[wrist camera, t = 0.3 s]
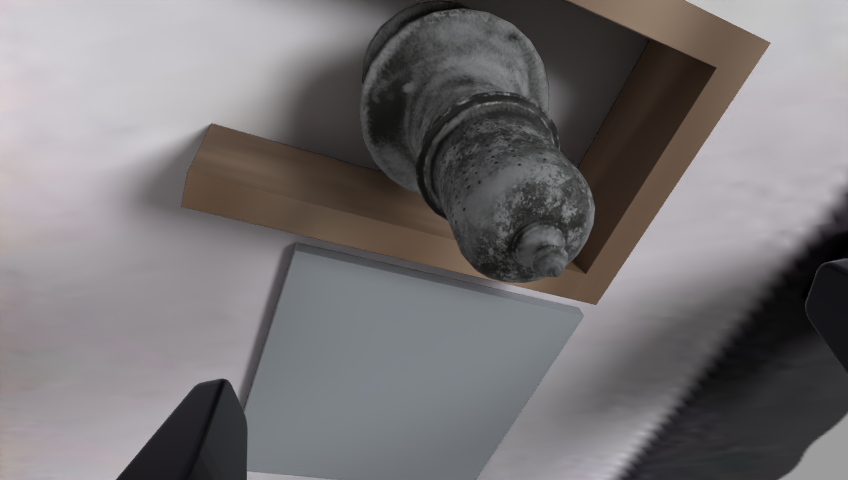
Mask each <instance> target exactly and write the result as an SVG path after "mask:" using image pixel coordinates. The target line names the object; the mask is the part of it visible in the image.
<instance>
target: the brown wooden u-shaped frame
mask: <svg viewBox="0 0 848 480" xmlns="http://www.w3.org/2000/svg"><path fill="white" fill-rule="evenodd" d="M564 1H566V2H568V3H570V4H572V5H575V6H577V7H579V8H581V9H584V10H586V11H588V12H590V13H592V14H595V15H597V16H599V17H601V18H604V19H606V20H608V21H610V22H612V23H615V24H617V25H619V26H621V27H623V28H626V29H628V30H630V31H632V32H635V33H637V34H639V35H641V36H643V37H646V38H648V39H650V41H649V42H648V44H647V46H646V48H645V50H644V51H643V53H642V55H641V57H640V58H639V60H638V62H637V64H636V66H635V67H634V69H633V71H632V73H631V74H630V76H629V78H628V80H627V82H626V83H625V85H624V87H623V89H622V90H621V92H620V94H619V96H618V98H617V99H616V101H615V103H614V105H613V107H612V108H611V110H610V112H609V114H608V115H607V117H606V119H605V121H604V123H603V124H602V126H601V128H600V130H599V131H598V133H597V135H596V137H595V139H594V140H593V142H592V144H591V146H590V147H589V149H588V151H587V153H586V155H585V156H584V158H583V160H582V162H581V164H580V165H579V167H578V170H579V171H580V173H581V174H582V176H583V177H584V179H585V180H586V182H587V184H588V185H589V188H590V190H591V193H592V197H593V201H594V206H595V214H594V223H593V226H592V229H591V231H590V234H589V237H588V239H587V241H586V243H585V245H584V246H583V248H582V249H581V250H580V252H579V253H578V255H577V256H576V257H575V258H574V259H573V260H572V261H571V262H570V263H569V264H568V265H567V266H565V268H564V270H563V271H562V273H561V275H560V276H558V277H545V278H543V279H540V280H537V281H532V282H526V283H508V282H501V281H497V280H493V279H490V278H487V277H486V276H484V275H482V274H481V273H479V272H477V271H476V270H475V269H474V268H473V267H472V265H471V264H470V263H469V262H468V261H467V260H466V259H465V258H464V256H463V255H462V254H461V252H460V249H459V247H458V245H457V242H456V240H455V237H454V235H453V232H452V230H451V227H450V224H449V222H448V221H447V220H445V219H443V218H442V217H440V216H439V215H437V214H436V213H434V211H433V210H432V209H431V208H430V207H429V206H428V205H427V203H426V202H425V201H424V199H423V197H422V195H421V194H418V193H415V192H412V191H409V190H407V189H405V188H404V187H402V186H401V185H399V184H398V183H396V182H394V181H393V180H391V179H390V178H389V177H388V176H387V175H386V174H385V173H382V172H378V171H375V170H371V169H368V168H364V167H361V166H357V165H354V164H350V163H347V162H344V161H340V160H337V159H333V158H330V157H326V156H323V155H319V154H316V153H312V152H309V151H305V150H302V149H299V148H295V147H292V146H288V145H285V144H281V143H278V142H274V141H271V140H267V139H264V138H260V137H257V136H254V135H250V134H247V133H243V132H240V131H236V130H233V129H229V128H226V127H222V126H219V125H215V124H211V126H210V128H209V130H208V132H207V134H206V136H205V138H204V140H203V142H202V144H201V146H200V148H199V150H198V152H197V154H196V156H195V158H194V160H193V162H192V164H191V166H190V168H189V170H188V172H187V178H186V183H185V188H184V194H183V199H182V204H181V207H185V208H189V209H193V210H198V211H202V212H206V213H210V214H214V215H219V216H223V217H227V218H231V219H235V220H240V221H244V222H248V223H252V224H257V225H261V226H265V227H269V228H273V229H278V230H282V231H286V232H290V233H295V234H299V235H303V236H307V237H311V238H316V239H320V240H324V241H328V242H332V243H337V244H341V245H345V246H349V247H354V248H358V249H362V250H366V251H370V252H375V253H379V254H383V255H387V256H392V257H396V258H400V259H404V260H408V261H413V262H417V263H421V264H425V265H430V266H434V267H438V268H442V269H446V270H451V271H455V272H459V273H463V274H467V275H472V276H476V277H480V278H484V279H489V280H493V281H497V282H501V283H505V284H510V285H514V286H518V287H522V288H527V289H531V290H535V291H539V292H543V293H548V294H552V295H556V296H560V297H565V298H569V299H573V300H577V301H581V302H586V303H590V304H594V305H596V304H597V303H598V301H599V300H600V298H601V297H602V295H603V294H604V292H605V291H606V289H607V288H608V286H609V285H610V283H611V282H612V280H613V279H614V277H615V276H616V274H617V273H618V271H619V270H620V268H621V267H622V265H623V264H624V262H625V261H626V259H627V258H628V256H629V255H630V253H631V252H632V250H633V249H634V247H635V246H636V244H637V243H638V241H639V240H640V238H641V237H642V235H643V234H644V232H645V231H646V229H647V228H648V226H649V225H650V223H651V222H652V220H653V219H654V217H655V216H656V214H657V213H658V211H659V210H660V208H661V207H662V205H663V204H664V202H665V201H666V199H667V198H668V196H669V195H670V193H671V192H672V190H673V189H674V187H675V186H676V184H677V183H678V181H679V180H680V178H681V177H682V175H683V174H684V172H685V171H686V169H687V168H688V166H689V165H690V163H691V162H692V160H693V159H694V157H695V156H696V154H697V153H698V151H699V150H700V148H701V147H702V145H703V144H704V142H705V141H706V139H707V138H708V136H709V135H710V133H711V132H712V130H713V129H714V127H715V126H716V124H717V123H718V121H719V120H720V118H721V117H722V115H723V114H724V112H725V111H726V109H727V108H728V106H729V105H730V103H731V102H732V100H733V99H734V97H735V96H736V94H737V93H738V91H739V90H740V88H741V87H742V85H743V84H744V82H745V81H746V79H747V78H748V76H749V75H750V73H751V72H752V70H753V69H754V67H755V66H756V64H757V63H758V61H759V60H760V58H761V57H762V55H763V54H764V52H765V51H766V49H767V48H768V46H769V45H770V42H768V41H766V40H764V39H762V38H760V37H758V36H756V35H754V34H752V33H750V32H748V31H746V30H744V29H742V28H740V27H737V26H735V25H733V24H731V23H729V22H727V21H725V20H723V19H721V18H719V17H717V16H715V15H713V14H711V13H709V12H707V11H705V10H703V9H701V8H699V7H697V6H695V5H693V4H691V3H689V2H687V1H685V0H564Z"/></svg>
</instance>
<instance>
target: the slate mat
mask: <svg viewBox="0 0 848 480" xmlns="http://www.w3.org/2000/svg"><path fill="white" fill-rule="evenodd" d="M583 317H584V315H583V314H582V312H581V311H580V309H579V308H576V307H572V306H568V305H563V304H559V303H555V302H550V301H546V300H542V299H537V298H533V297H529V296H525V295H520V294H516V293H512V292H507V291H503V290H499V289H494V288H490V287H486V286H481V285H477V284H473V283H468V282H464V281H460V280H455V279H451V278H447V277H443V276H438V275H434V274H430V273H425V272H421V271H417V270H412V269H408V268H404V267H399V266H395V265H391V264H386V263H382V262H378V261H374V260H369V259H365V258H361V257H356V256H352V255H348V254H343V253H339V252H335V251H330V250H326V249H322V248H317V247H313V246H309V245H305V244H300V243H296V244H295V248H294V251H293V254H292V257H291V260H290V264H289V267H288V270H287V273H286V276H285V280H284V283H283V286H282V289H281V292H280V295H279V299H278V302H277V305H276V308H275V311H274V315H273V318H272V321H271V324H270V327H269V331H268V334H267V337H266V340H265V343H264V346H263V350H262V353H261V356H260V359H259V362H258V366H257V369H256V372H255V375H254V378H253V382H252V385H251V388H250V391H249V394H248V397H247V401H246V404H245V407H244V410H243V411H244V414H245V416H246V420H247V427H248V442H247V471H250V472H261V473H272V474H283V475H294V476H305V477H316V478H327V479H338V480H476V479H477V477H478V476H479V474H480V473H481V471H482V470H483V468H484V466H485V465H486V463H487V462H488V460H489V459H490V457H491V456H492V454H493V453H494V451H495V450H496V448H497V447H498V445H499V444H500V442H501V441H502V439H503V438H504V436H505V435H506V433H507V432H508V430H509V429H510V427H511V426H512V424H513V423H514V421H515V420H516V418H517V417H518V415H519V414H520V412H521V410H522V409H523V407H524V406H525V404H526V403H527V401H528V400H529V398H530V397H531V395H532V394H533V392H534V391H535V389H536V388H537V386H538V385H539V383H540V382H541V380H542V379H543V377H544V376H545V374H546V373H547V371H548V370H549V368H550V367H551V365H552V364H553V362H554V361H555V359H556V358H557V356H558V355H559V353H560V351H561V350H562V348H563V347H564V345H565V344H566V342H567V341H568V339H569V338H570V336H571V335H572V333H573V332H574V330H575V329H576V327H577V326H578V324H579V323H580V321H581V320H582V318H583Z"/></svg>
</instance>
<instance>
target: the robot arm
mask: <svg viewBox="0 0 848 480" xmlns="http://www.w3.org/2000/svg"><path fill="white" fill-rule="evenodd" d="M803 299H804V301H806V304H805V310H806V314H807V316H808V319H809V320H810V322H811V323H812V325H813V326H814V327H815V329H816V330H817V332H818V333H819V335H820V336H821V337H822V339H823V340H824V342H825V343H826V344H827V346H828V347H829V349H830V350H831V352H832V353H833V354H834V356H835V357H836V359H837V360H838V361H839V363H840V364H841V366H842V367H843V369H844V370H845V371H846V373H847V374H848V244H847V246H846V247H845V248H844V249H843V250H842V251H841V252H840V254H839V255H838V256H837V257H836V258H835V259H834V260H833V261H831V262H826V263H824V264H822V265H821V266H820V267H819V268H818V270H817V272H816V275H815V278H814V280H813V283H812V285H811V286H810V287H809V289H808V290H807V291H806V292H805V293H804V295H803ZM247 442H248V427H247V420H246V416H245V414H244V411H243V409H242V407H241V405H240V403H239V400H238V398H237V396H236V394H235V392H234V389H233V387H232V385H231V383H230V382H229V381H228V380H226V379H217V380H212V381H207V382H202V383H199V384H197V385H196V386H195V387H194V388H193V389H192V390H191V391H190V392H189V393H188V395H187V396H186V397H185V398H184V399H183V401H182V402H181V403H180V404H179V405H178V407H177V408H176V409H175V410H174V411H173V412H172V414H171V415H170V416H169V417H168V418H167V420H166V421H165V422H164V423H163V424H162V426H161V427H160V428H159V429H158V430H157V432H156V433H155V434H154V435H153V436H152V437H151V439H150V440H149V441H148V442H147V443H146V445H145V446H144V447H143V448H142V449H141V451H140V452H139V453H138V454H137V455H136V457H135V458H134V459H133V460H132V461H131V462H130V464H129V465H128V466H127V467H126V468H125V470H124V471H123V472H122V473H121V474H120V476H119V477H118V478H117V479H116V480H247Z"/></svg>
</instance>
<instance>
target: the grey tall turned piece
mask: <svg viewBox="0 0 848 480" xmlns="http://www.w3.org/2000/svg"><path fill="white" fill-rule="evenodd" d="M362 84H363V86H362V89H361V99H360V109H359V117H360V123H361V128H362V134H363V140H364V142H365V144H366V146H367V148H368V150H369V152H370V154H371V156H372V158H373V160H374V162H375V163H376V164H377V165H378V166H379V167H380V168H381V170H382V171H383V172H384V173H385V174H386V175H387V176H388V177H389V178H390V179H391V180H393V181H394V182H396V183H398V184H399V185H401V186H402V187H404V188H405V189H407V190H409V191H412V192H415V193H418V194H421V195H422V197H423V199H424V201H425V202H426V203H427V205H428V206H429V207H430V208H431V209H432V210H433V211H434V213H436V214H437V215H439V216H440V217H442V218H443V219H445V220H447V221H448V222H449V224H450V227H451V230H452V232H453V235H454V237H455V240H456V242H457V245H458V247H459V249H460V252H461V254H462V255H463V256H464V258H465V259H466V260H467V261H468V262H469V263H470V264H471V265H472V267H473V268H474V269H475V270H476V271H477V272H479V273H481V274H482V275H484V276H486V277H487V278H490V279H493V280H497V281H501V282H508V283H526V282H532V281H537V280H540V279H543V278H545V277H558V276H560V275H561V273H562V271H563V270H564V268H565V266H567V265H568V264H569V263H570V262H571V261H572V260H573V259H574V258H575V257H576V256H577V255H578V253H579V252H580V250H581V249H582V248H583V246H584V245H585V243H586V241H587V239H588V237H589V234H590V231H591V229H592V226H593V223H594V214H595V206H594V201H593V197H592V193H591V190H590V188H589V185H588V184H587V182H586V180H585V179H584V177H583V176H582V174H581V173H580V171H579V170H578V169H577V168H576V167H575V166H574V165H573V164H572V163H571V162H570V161H569V160H568V159H567V158H566V157H565V156H564V155H563V154H562V152H561V151H560V141H559V137H558V133H557V129H556V126H555V125H554V123H553V121H552V120H551V118H550V117H549V115H548V105H549V84H548V80H547V76H546V72H545V68H544V64H543V61H542V59H541V58H540V56H539V54H538V53H537V51H536V49H535V47H534V46H533V44H532V42H531V41H530V40H529V39H528V38H527V37H526V36H525V35H524V34H523V33H522V32H521V31H520V30H518V29H517V28H516V27H515V26H514V25H513V24H512V23H510V22H508V21H506V20H504V19H502V18H500V17H497V16H495V15H493V14H491V13H489V12H484V11H478V10H471V9H469V8H467V7H465V6H463V5H461V4H459V3H452V2H445V1H432V2H425V3H418V4H416V5H414V6H412V7H409V8H407V9H405V10H403V11H400V12H399V13H398V14H396V15H395V16H394V17H393V18H392V19H390V20H389V21H388V22H387V23H385V24H384V25H383V26H382V28H381V29H380V31H379V32H378V33H377V35H376V36H375V38H374V39H373V41H372V42H371V44H370V47H369V50H368V52H367V55H366V58H365V60H364V67H363V78H362Z"/></svg>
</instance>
